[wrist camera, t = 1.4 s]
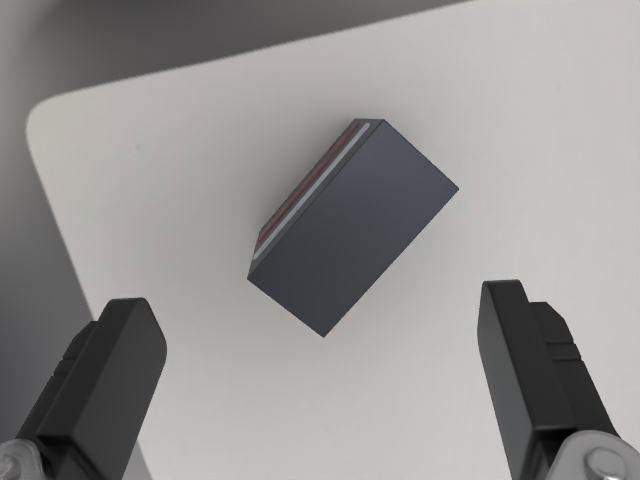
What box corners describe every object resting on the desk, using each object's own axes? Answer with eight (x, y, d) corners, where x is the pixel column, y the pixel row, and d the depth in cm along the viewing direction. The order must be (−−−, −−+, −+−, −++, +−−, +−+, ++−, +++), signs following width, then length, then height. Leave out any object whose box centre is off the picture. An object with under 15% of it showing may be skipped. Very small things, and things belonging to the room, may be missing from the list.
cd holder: (315, 277, 34) (325, 340, 25) (257, 231, 33) (244, 277, 24) (411, 169, 33) (462, 190, 23) (353, 116, 32) (381, 116, 22)
